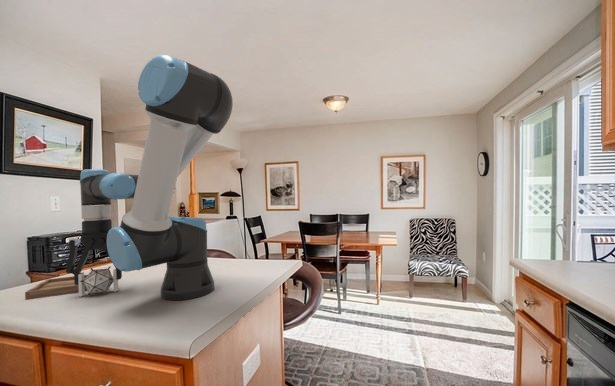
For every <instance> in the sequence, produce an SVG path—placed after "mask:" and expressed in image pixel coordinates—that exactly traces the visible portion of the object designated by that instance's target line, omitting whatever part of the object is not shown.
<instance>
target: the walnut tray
mask: <svg viewBox="0 0 615 386" xmlns="http://www.w3.org/2000/svg"><path fill="white" fill-rule="evenodd" d="M87 276H88V274H84V279H85V278H86V277H87ZM86 292H88V291H87V289H86V287H85V293H86ZM69 294H79V285H75V284H74V275H73V276H65V277H57V278H55V277H54V278H48V279H45V280H44V281H41V282H40V283H38V284H37V285H35V286H34V287H32V288H30V289H28V290H26V291H25V292H24V295H25V296H24V298H25V299H24V300H34V299H41V298H45V297H46V298H48V297H54V296H62V295H69Z"/></svg>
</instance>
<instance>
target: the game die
mask: <svg viewBox="0 0 615 386" xmlns="http://www.w3.org/2000/svg"><path fill="white" fill-rule="evenodd" d="M110 269H111V266H108V267H107V268H97V269H93V267H90V272H89V273H88V274H87V275H88V276H87V277H86V278H85V279H84V280H83V281H82V280H81V281H80V282H83V283H84V285H85V287H86V289H87V291H86V292H88V293H87V295H86V296H87V297H88V296H90V295H91V294H100V293H105V294H106V295H108V293H109V292H108V290H109V289H110V287H111V286H112V285H113V284H114V282H113V273H112V272H111V270H110Z"/></svg>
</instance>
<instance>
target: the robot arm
mask: <svg viewBox="0 0 615 386" xmlns="http://www.w3.org/2000/svg"><path fill="white" fill-rule="evenodd" d="M137 84H138V85H137V89H138V96H139V98H140V100H141V101H142V102H143V103H144V104H145V109H144V111H145V113H146V115H147V117H148V118H149V120H150V122H149V126H148V131H147V134H146V135H147V136H146V140H145V144H144V148H143V149H144V150H143V153H142V159H141V162H140V167H139V172H138V174H127V173H124V172H112V173H110V171H109V170H107V169H101V168H100V169H99V168H90V169H88V168H87V169H83V170H81V172H80V179H79V186H80V203H81V212H80V213H81V219H82V220H83V221H81V237H80V238H74V239H73V238H72V239H71V240H69V241H68V244H69V248H70V249H69V255H68V258H67V264H66V269H65V273H66V274H71V275H73V276H74V284H75V285H79V292H78V297H82V296H84V295H85V294H86V292H85V285H84V283H83V282H80V281H81V280H82V281H83V280H84V275H85V271H83V272H82V270H83V268H84V266H85V264H86V262H87V261H88V258H89V255H90V254H91V253H92V251H95V250H104V252H105V253H106V255H107V256H108V257H109V260H110V261H111V263H112V265H113V266H114V269H113V271H112V276H113V292H117V291H118V290H119V280H121V279H122V278H123V272H124V273H126V272H131V271H132V272H133V271H141V270H142V269H147V268H150V267H155V266H158V265H159V266H160V265H163V264H166V271H165V273H164V278H163V280H162V283H161V286H160V298H162V299H164V300H167V301H184V300H190V299H195V298H199V297H200V298H201V297H203V296H206V295H208V294H210V293H212V292H213V291H214V290H215V280H214V277H213V275H212V271H211V270H210V267H209V263H208V262H209V261H208V229H207V222H206V220H205V218H202V217H196V216H195V217H190V216H169V212H170V210H171V209H170V208H171V205H172V200H173V196H174V193H175V190H176V184H177V181H178V177H179V176H180V175H181V174H182V173H183V171H184V170H186V168H187V167H188V166H189V164H190V163H191V162H192V161H193V159H194V158H195V157H196V156H197V155H198V153H199V152H200V151H201V149H202V148H203V147H205V145H206V143H207V142H208V141H209V140H211V138H212V136H213V135H218V134H220V132H221V131H222V130H223V129H224V127H225V126H226V125H227V123H228V122H229V121H230V117H231V115H232V112H233V105H234V104H233V103H234V102H233V96H232V92H231V89H230V87H229V85H228V84H227V83H226V82H225V81H224V80H223V79H222V78H221V77H219V76H218V75H216V74H214V73H212V72H209V71H206V70H205V69H202V68H200V67H198V66H196V65H193V64H191V63H190V62H187V61H185V60H182V59H181V58H178V57H174V56H171V55H167V54H158V55H156V56H154V57H152V58H151V59H150V60H149V61H148V62H146V64H145V66H144V67H143V68H142V70H141V72H140V75H139V78H138V82H137ZM112 200H114V201H115V200H116V201H117V200H132V204H131V210H130V211H128V212H126V213H124V214H123V215H122V217H121V221H120V226H118V225H117V226H114V227H112V226H113V223H112V221H113V220H112V219H111V218H112ZM81 243H82V244H83V246H85V247H84V250H83V252H82V254H81V257H80V259H79V261H78V262H77V264H76V260H77V255H78V251H79V250H78V249H79V246H80V245H81ZM75 265H76V266H75Z"/></svg>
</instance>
